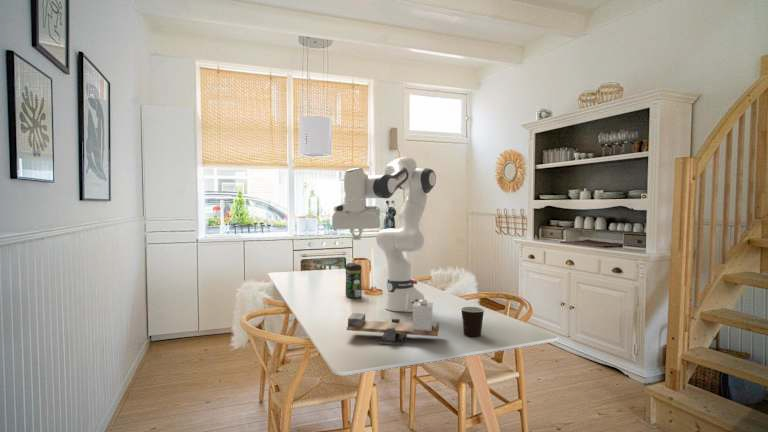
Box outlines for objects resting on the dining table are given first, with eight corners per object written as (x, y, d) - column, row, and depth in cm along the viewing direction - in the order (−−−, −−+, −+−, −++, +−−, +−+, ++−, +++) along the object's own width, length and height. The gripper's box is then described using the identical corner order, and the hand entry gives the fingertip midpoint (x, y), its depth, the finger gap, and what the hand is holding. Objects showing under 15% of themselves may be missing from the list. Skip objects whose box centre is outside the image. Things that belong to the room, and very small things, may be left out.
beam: (346, 330, 157) (346, 319, 156) (352, 322, 166) (353, 312, 166) (437, 336, 151) (438, 324, 151) (438, 328, 161) (439, 317, 161)
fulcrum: (379, 344, 152) (379, 329, 151) (386, 331, 167) (386, 317, 167) (401, 345, 150) (401, 330, 150) (406, 332, 166) (406, 318, 166)
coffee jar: (343, 295, 233) (343, 262, 232) (356, 294, 236) (356, 261, 236) (350, 299, 224) (350, 264, 224) (363, 297, 228) (363, 263, 227)
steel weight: (412, 330, 154) (412, 302, 153) (414, 324, 161) (414, 297, 160) (431, 331, 153) (431, 303, 152) (432, 326, 160) (432, 298, 159)
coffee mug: (479, 339, 157) (479, 313, 157) (457, 335, 162) (457, 310, 161) (489, 331, 167) (489, 306, 167) (468, 328, 171) (468, 304, 171)
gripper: (381, 205, 175) (382, 238, 176) (334, 207, 179) (336, 239, 180) (378, 206, 169) (379, 240, 170) (330, 207, 173) (331, 240, 174)
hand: (356, 239), depth 175 cm, fingers closed
